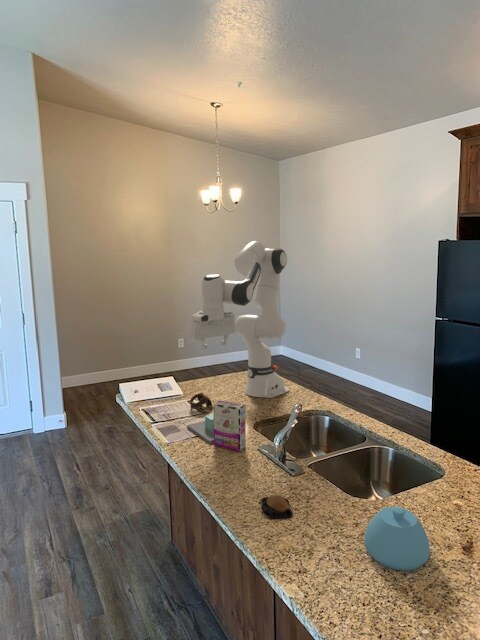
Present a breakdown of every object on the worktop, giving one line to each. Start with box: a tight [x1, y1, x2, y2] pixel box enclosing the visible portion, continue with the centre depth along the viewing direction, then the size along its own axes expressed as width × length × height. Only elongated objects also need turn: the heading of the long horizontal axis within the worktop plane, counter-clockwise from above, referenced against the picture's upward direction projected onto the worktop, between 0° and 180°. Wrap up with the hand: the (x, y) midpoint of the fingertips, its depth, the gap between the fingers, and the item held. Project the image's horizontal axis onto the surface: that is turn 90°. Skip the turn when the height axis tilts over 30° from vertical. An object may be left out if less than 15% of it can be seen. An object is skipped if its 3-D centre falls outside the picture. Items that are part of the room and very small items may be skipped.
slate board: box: [187, 420, 214, 445], centre depth 184 cm, size 14×18×1 cm
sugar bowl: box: [363, 506, 431, 572], centre depth 112 cm, size 15×15×12 cm
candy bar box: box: [212, 400, 247, 453], centre depth 169 cm, size 11×5×16 cm, turn 62°
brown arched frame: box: [189, 392, 214, 411], centre depth 209 cm, size 12×10×8 cm
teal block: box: [204, 413, 214, 432], centre depth 183 cm, size 5×5×5 cm
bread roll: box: [259, 494, 294, 521], centre depth 131 cm, size 11×8×4 cm
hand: (214, 346), depth 193 cm, fingers open, 8 cm apart
